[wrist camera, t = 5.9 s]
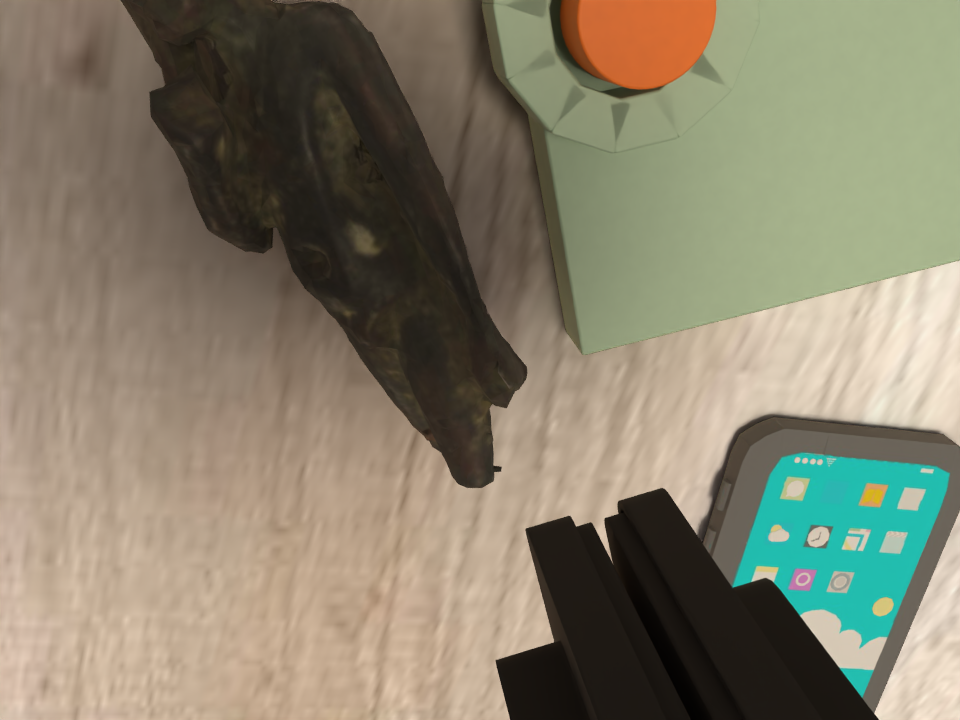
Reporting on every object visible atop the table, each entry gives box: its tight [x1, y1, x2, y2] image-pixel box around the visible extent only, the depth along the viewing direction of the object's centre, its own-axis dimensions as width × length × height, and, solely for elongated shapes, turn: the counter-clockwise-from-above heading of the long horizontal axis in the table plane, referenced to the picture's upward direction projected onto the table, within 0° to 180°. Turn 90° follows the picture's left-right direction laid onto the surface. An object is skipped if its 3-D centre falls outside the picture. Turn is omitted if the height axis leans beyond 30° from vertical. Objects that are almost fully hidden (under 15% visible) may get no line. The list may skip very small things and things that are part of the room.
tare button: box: [560, 0, 716, 90], centre depth 19 cm, size 3×3×2 cm
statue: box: [121, 0, 527, 488], centre depth 20 cm, size 6×5×20 cm
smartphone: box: [703, 417, 960, 713], centre depth 31 cm, size 9×1×15 cm
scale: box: [482, 0, 960, 355], centre depth 23 cm, size 13×12×4 cm
